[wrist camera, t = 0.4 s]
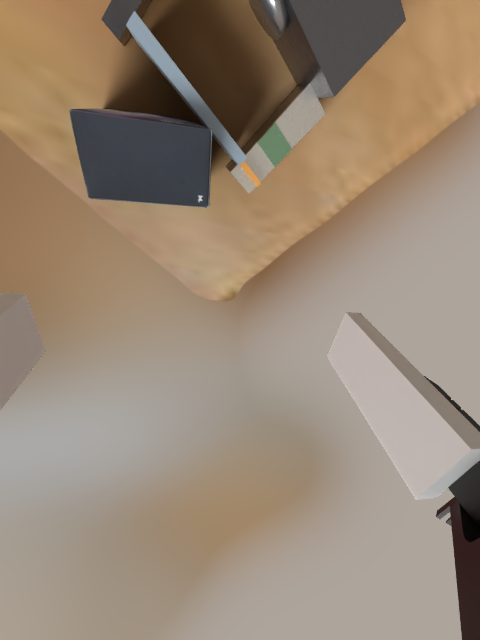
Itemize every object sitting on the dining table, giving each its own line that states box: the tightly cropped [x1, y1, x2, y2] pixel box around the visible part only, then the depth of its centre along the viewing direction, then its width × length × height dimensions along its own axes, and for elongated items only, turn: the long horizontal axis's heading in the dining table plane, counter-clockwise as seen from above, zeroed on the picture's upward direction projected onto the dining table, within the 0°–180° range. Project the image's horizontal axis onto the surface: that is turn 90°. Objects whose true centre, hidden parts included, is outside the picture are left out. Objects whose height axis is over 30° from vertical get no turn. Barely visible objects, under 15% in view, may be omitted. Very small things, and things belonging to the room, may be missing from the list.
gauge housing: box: [102, 0, 406, 193], centre depth 22 cm, size 18×18×7 cm
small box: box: [70, 109, 212, 208], centre depth 25 cm, size 11×6×10 cm, turn 83°
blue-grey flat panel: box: [126, 11, 261, 187], centre depth 25 cm, size 1×16×7 cm, turn 42°
